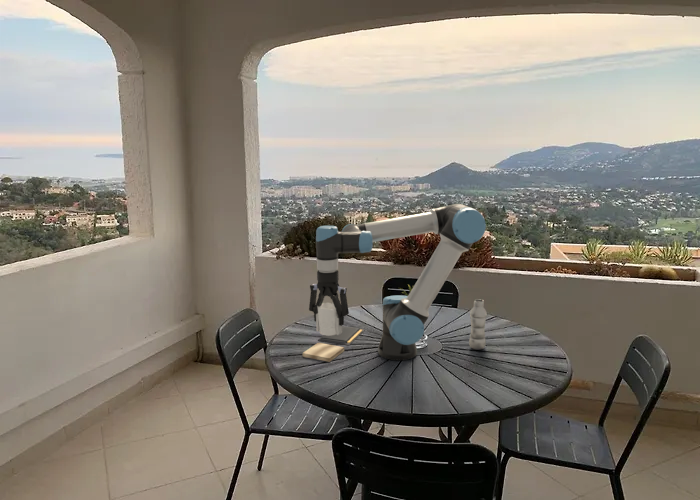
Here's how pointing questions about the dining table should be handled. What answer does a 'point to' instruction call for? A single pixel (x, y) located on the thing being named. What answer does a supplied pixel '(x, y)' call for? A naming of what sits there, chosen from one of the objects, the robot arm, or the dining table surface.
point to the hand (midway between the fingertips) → (329, 331)
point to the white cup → (327, 319)
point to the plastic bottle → (478, 325)
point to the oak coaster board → (323, 352)
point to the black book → (343, 336)
